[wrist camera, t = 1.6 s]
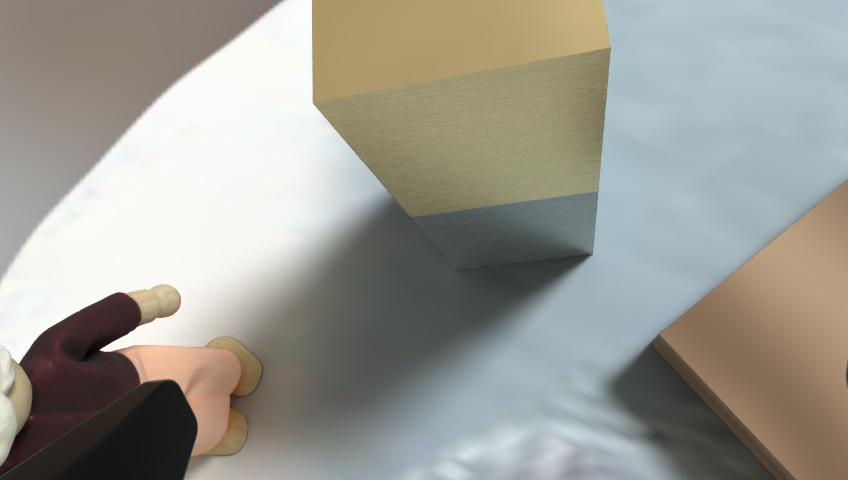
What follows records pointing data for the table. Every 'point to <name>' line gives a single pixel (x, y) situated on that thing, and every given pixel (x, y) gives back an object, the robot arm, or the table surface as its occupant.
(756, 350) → the walnut plinth
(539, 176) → the yellow grey tall block
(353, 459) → the table surface
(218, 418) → the grandmother figurine
